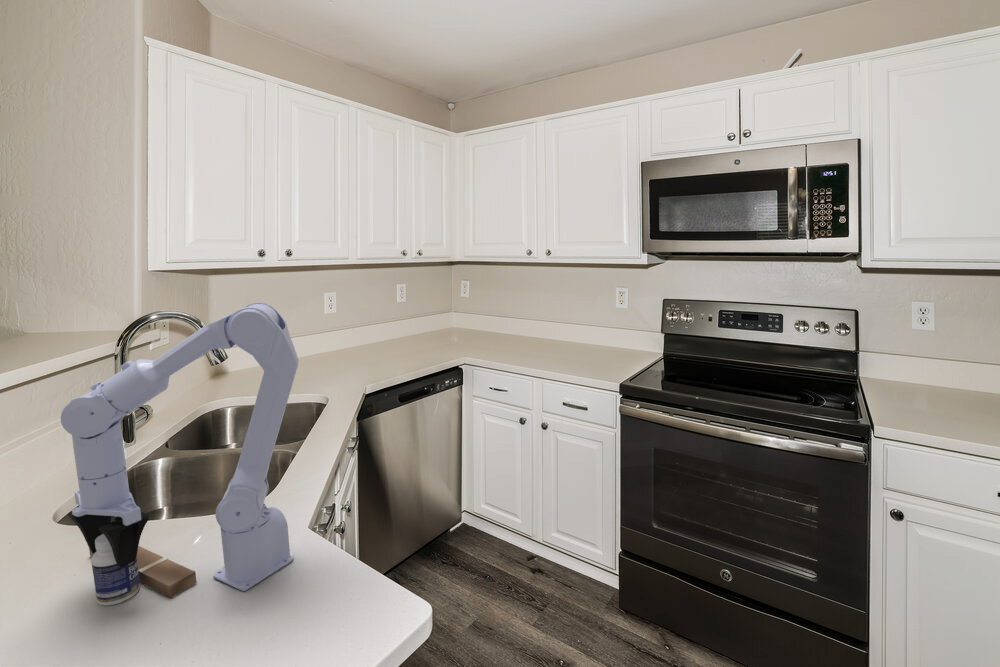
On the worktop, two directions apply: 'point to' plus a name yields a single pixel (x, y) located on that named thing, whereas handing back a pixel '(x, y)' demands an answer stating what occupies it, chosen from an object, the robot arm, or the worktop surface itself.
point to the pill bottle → (112, 575)
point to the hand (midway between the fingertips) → (113, 556)
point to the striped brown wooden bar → (162, 573)
